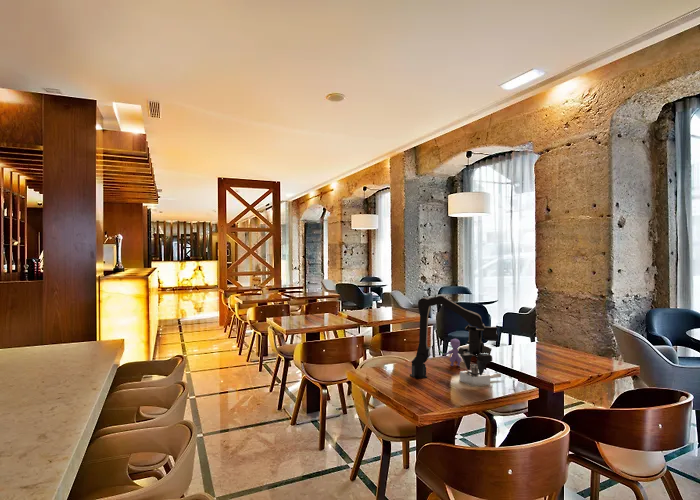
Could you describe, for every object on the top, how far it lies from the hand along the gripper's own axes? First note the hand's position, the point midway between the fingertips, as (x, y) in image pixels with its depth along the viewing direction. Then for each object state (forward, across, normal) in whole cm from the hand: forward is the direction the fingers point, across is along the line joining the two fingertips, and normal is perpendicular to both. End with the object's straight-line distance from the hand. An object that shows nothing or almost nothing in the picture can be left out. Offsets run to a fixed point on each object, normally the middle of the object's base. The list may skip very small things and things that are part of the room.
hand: (474, 372), depth 192 cm
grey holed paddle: (+5, 0, -5) cm, 7 cm away
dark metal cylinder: (+4, 0, 0) cm, 4 cm away
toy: (+5, +29, -9) cm, 31 cm away
